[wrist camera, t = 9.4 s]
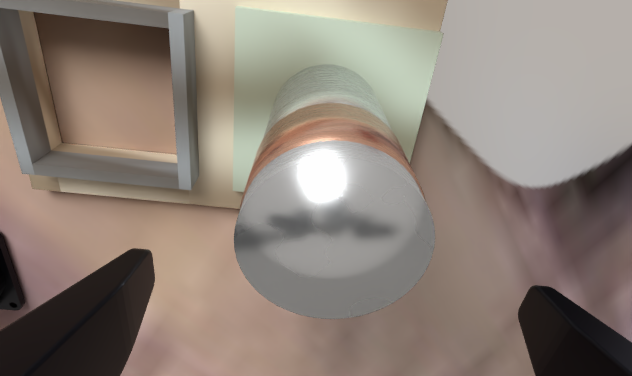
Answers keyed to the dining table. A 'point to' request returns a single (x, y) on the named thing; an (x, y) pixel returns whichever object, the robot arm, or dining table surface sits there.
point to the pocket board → (216, 85)
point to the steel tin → (332, 202)
